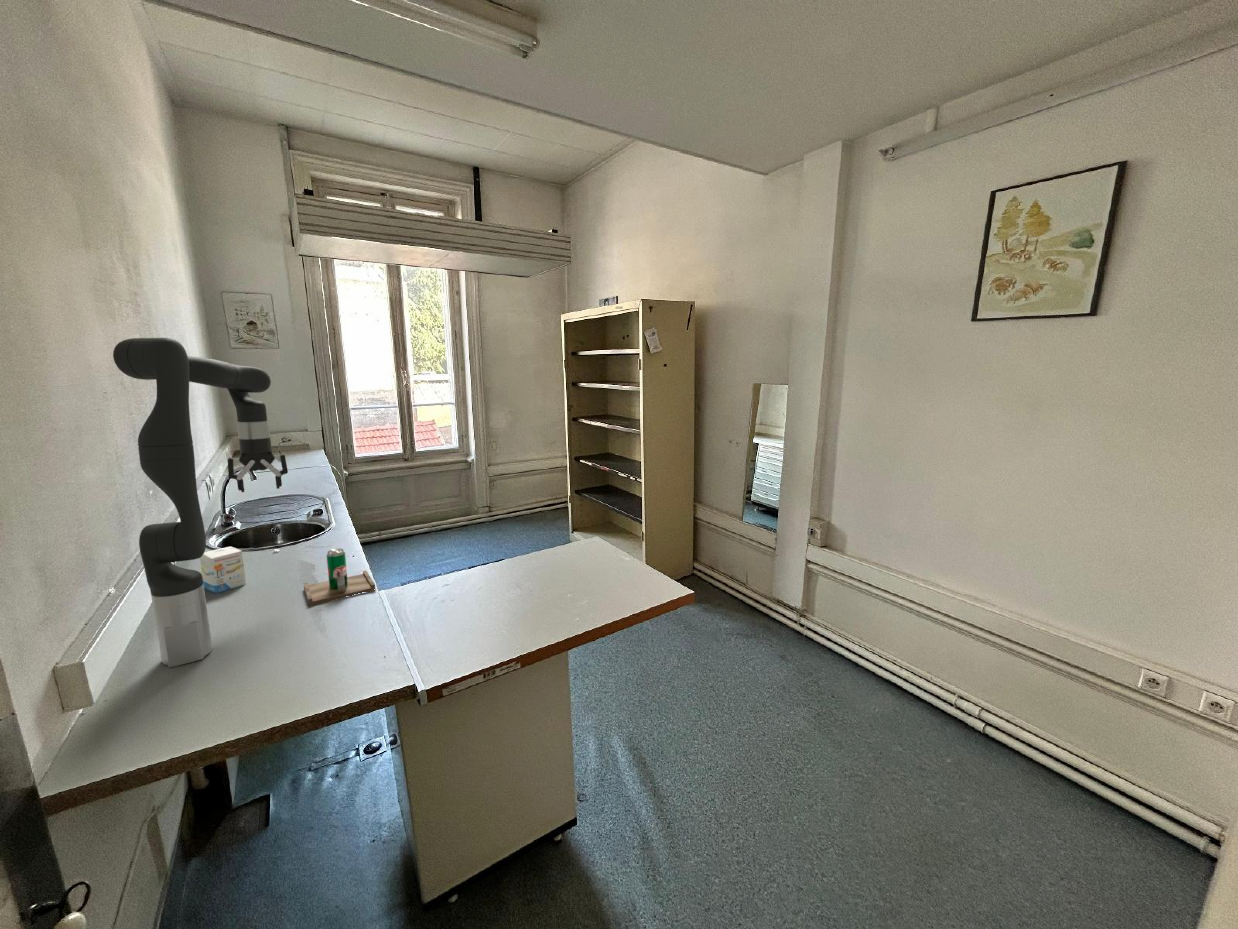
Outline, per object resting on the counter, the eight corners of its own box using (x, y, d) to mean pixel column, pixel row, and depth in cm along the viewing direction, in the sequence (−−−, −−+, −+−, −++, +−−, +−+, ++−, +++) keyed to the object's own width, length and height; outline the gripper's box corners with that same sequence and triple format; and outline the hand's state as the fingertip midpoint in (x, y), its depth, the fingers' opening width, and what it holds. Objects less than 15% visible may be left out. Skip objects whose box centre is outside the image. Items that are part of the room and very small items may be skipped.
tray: (375, 590, 154) (374, 572, 153) (308, 606, 143) (306, 586, 142) (366, 576, 165) (365, 559, 164) (304, 589, 154) (302, 571, 153)
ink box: (215, 594, 150) (210, 558, 148) (203, 588, 154) (198, 553, 152) (247, 584, 157) (242, 550, 155) (234, 578, 162) (230, 545, 160)
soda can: (335, 591, 150) (331, 554, 148) (326, 587, 153) (322, 551, 150) (351, 585, 154) (348, 550, 152) (342, 582, 157) (339, 546, 155)
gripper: (223, 439, 136) (230, 495, 138) (284, 436, 144) (290, 489, 147) (224, 436, 141) (231, 490, 144) (282, 434, 150) (288, 485, 153)
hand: (260, 490), depth 146 cm, fingers open, 8 cm apart
